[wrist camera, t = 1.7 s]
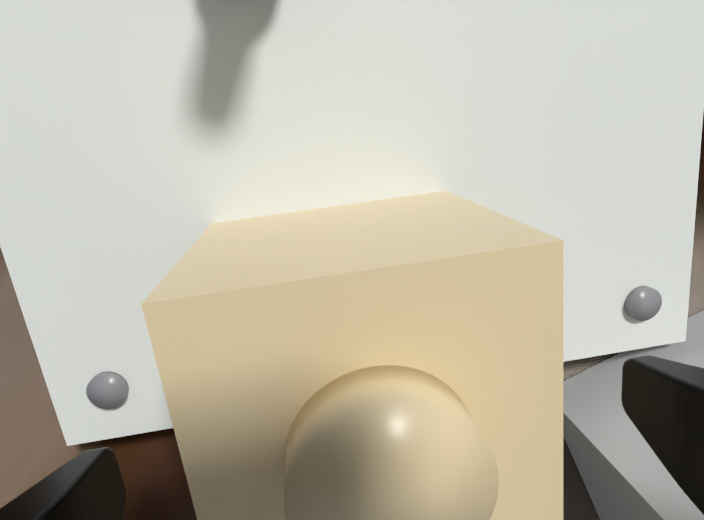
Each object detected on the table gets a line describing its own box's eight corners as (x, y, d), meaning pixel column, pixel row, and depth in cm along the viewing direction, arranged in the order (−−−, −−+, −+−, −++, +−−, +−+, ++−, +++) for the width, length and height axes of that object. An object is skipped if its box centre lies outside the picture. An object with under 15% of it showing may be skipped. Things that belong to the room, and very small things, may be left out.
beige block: (459, 394, 14) (596, 618, 8) (254, 429, 14) (216, 698, 7) (446, 190, 12) (605, 258, 6) (211, 223, 12) (114, 334, 6)
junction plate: (657, 325, 16) (834, 423, 10) (85, 420, 14) (-34, 586, 9) (691, -253, 12) (1014, -565, 6) (-109, -194, 10) (-529, -526, 5)
